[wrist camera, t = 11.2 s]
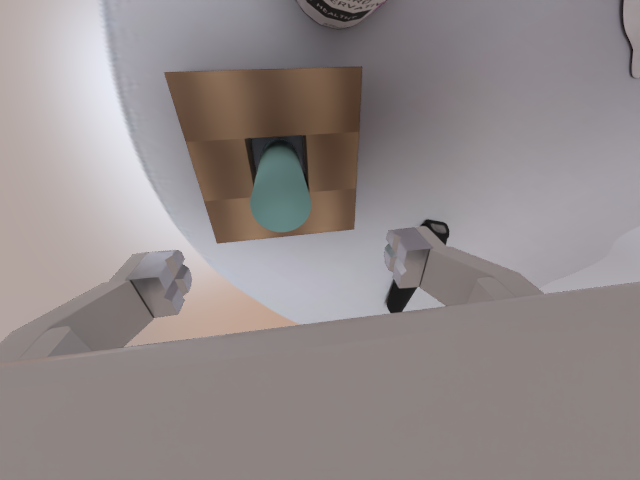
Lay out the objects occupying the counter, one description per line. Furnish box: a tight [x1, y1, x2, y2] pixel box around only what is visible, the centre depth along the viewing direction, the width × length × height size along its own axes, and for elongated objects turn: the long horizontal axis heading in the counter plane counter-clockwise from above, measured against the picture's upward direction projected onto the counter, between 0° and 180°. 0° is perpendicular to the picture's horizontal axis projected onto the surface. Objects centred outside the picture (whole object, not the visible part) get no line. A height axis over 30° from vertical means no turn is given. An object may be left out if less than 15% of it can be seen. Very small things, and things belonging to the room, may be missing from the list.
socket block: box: [164, 67, 362, 243], centre depth 23 cm, size 14×14×4 cm
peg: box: [250, 139, 311, 232], centre depth 19 cm, size 4×4×12 cm
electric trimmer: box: [387, 220, 449, 313], centre depth 34 cm, size 4×16×3 cm, turn 165°
